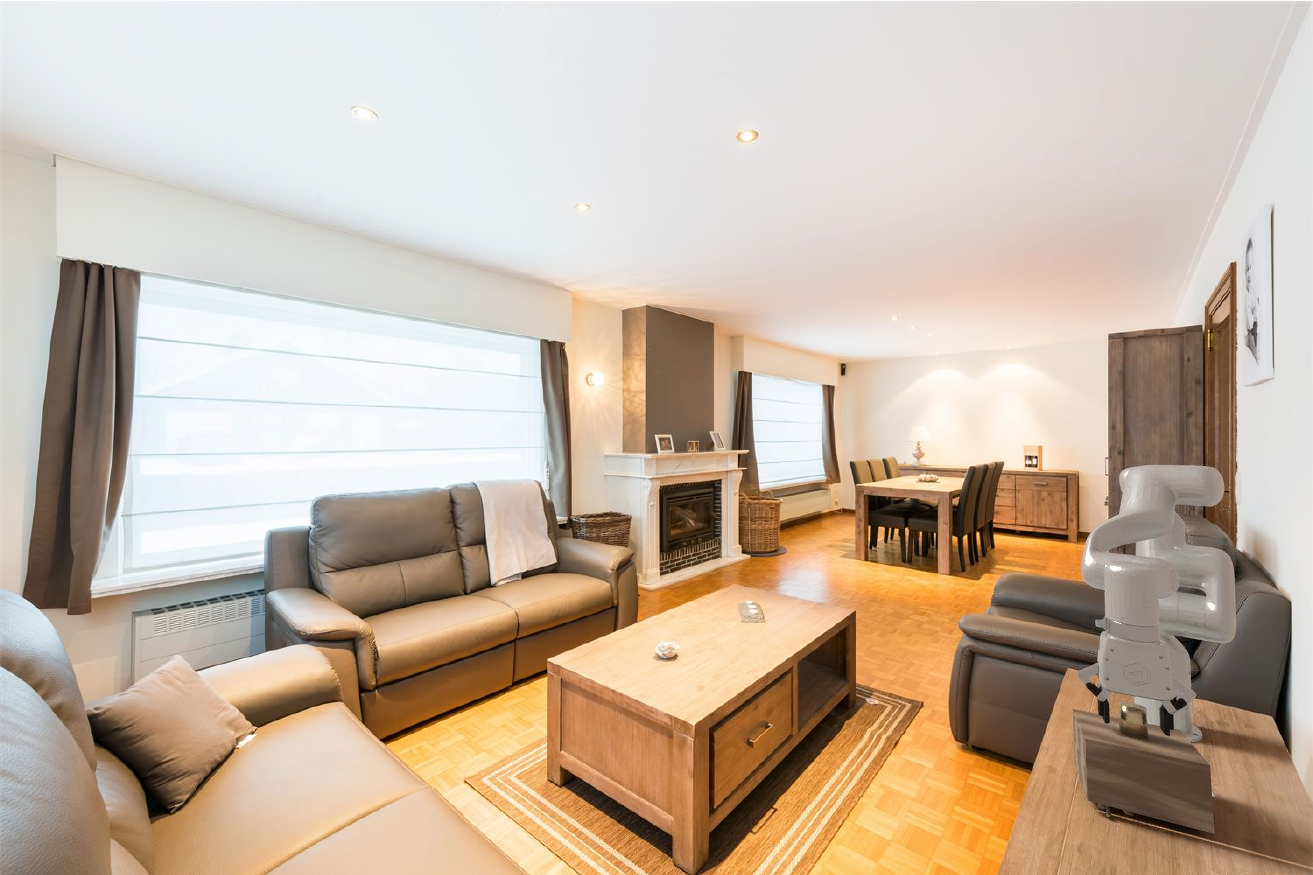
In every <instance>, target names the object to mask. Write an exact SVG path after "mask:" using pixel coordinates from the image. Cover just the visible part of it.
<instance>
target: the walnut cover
mask: <svg viewBox="0 0 1313 875" xmlns="http://www.w3.org/2000/svg"><path fill="white" fill-rule="evenodd" d="M1117 707H1118V717H1116V716H1111V715H1110V723H1109V724H1107V723H1105V722H1104V720H1103V718H1102V716H1099V715H1098V713H1097V712H1090V711H1085V710H1082V709H1081V710H1079V709H1074V708H1072V729H1073V730H1072V732H1073V756H1074V758H1073V759H1074V765H1075V768H1076V771H1077V773H1078V776H1079V780H1080V783H1081V785H1082V788H1083V792H1084V794H1085V797H1086V799H1087V801H1088V802H1091V803H1092V802H1093V803H1095V804H1098V803H1099V804H1103V805H1106V806H1109V808H1110V807H1111V808H1114V809H1118V810H1122V811H1123V810H1125V811H1129V812H1132V813H1133V814H1137V815H1141V816H1145V817H1149V818H1153V819H1157V820H1160V821H1164V822H1168V823H1172V824H1175V825H1178V826H1179V825H1180V826H1183V827H1187V828H1191V829H1194V830H1199V831H1202V832H1205V833H1210V834H1212V835H1213V834H1214V835H1215V822H1214V821H1215V820H1214V818H1215V817H1214V806H1213V803H1214V802H1213V797H1212V792H1213V789H1212V788H1213V787H1212V773H1211V764H1209V762H1208V761H1207V760H1206V759H1205V757H1203V755H1202V753H1200V752H1199V750H1198V749H1197V748H1196V747H1195V745H1193V742H1190V741H1189V740H1188V739H1187V738H1186V737H1185V735H1184V734H1183V733H1182V732H1181V731H1180V730H1179V729H1174V730H1170V736H1166V735H1165V734H1164V733H1163V731H1162V730H1161V728H1160V726H1158V725H1153V724H1148V722H1147V708H1145V707H1144V706H1141V705H1138V704H1135V702H1128V701H1118V702H1117Z"/></svg>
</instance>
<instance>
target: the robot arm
mask: <svg viewBox="0 0 1313 875" xmlns="http://www.w3.org/2000/svg"><path fill="white" fill-rule="evenodd" d="M1118 482H1119V486H1120V491H1121V494H1122V495H1121V501H1120V507H1119V512H1118V514H1117V515H1115V516H1113V517H1111V518H1109V519H1107V520H1105V521H1104V522H1102V523H1101V524H1100V525H1098V526H1097V527H1095V528H1094V529H1093V530H1092V531H1091V532H1090V533H1089V535H1088V536H1087V539H1086V540H1085V544H1084V549H1083V552H1082V553H1083V554H1082V556H1081V563H1080V573H1081V577H1082V580H1084V582H1085V584H1087V585H1088V586H1090V587H1091V588H1094V589H1097V590H1102V591H1104V614H1105V615H1104V616H1103V618H1102V619H1101V618H1100V619H1095V620H1094V621H1095V627H1098V628H1101V629H1103V630H1102V632H1101V633H1100V636H1099V637H1100V638H1099V642H1098V648H1097V649H1098V650H1097V651H1098V652H1097V661H1096V663H1094V664H1092V665H1089V666H1086V667H1083V668H1082V669H1079V670H1077V671H1076V675H1077V678H1078V679H1079V680H1080V682H1082V684H1084V686H1085V687H1086V689H1088V690H1089V692H1090V693H1092V694H1093V695H1094V696H1095V697H1096V700H1097V714H1098V715H1099V716H1102V718H1103V720H1104V722H1105V723H1107V724H1109V723H1110V716H1111V715H1110V714H1111V713H1110V711H1111V710H1110V702H1109V700H1108V699H1109V696H1110V695H1111V694H1112V693H1115V694H1118V695H1119V694H1120V695H1126V696H1129V697H1130V696H1132V697H1134V703H1135V704H1138V705H1141V706H1144V707H1145V708H1147V722H1148V724H1153V725H1158V726H1160V728H1161V730H1162V731H1163V733H1164V734H1165V735H1166V736H1170V730H1174V729H1179V730H1180V731H1181V732H1182V733H1183V734H1184V735H1185V737H1186V738H1187V739H1188V740H1189V741H1190V742H1191V743H1197V742H1200V741H1202V740H1203V731H1201V730H1200V728H1198V727H1197V726H1195V724H1193V713H1192V712H1193V709H1192V700H1194V699H1195V698H1196V697H1197V693H1195V691H1194V689H1192V680H1191V679H1192V678H1191V677H1192V675H1191V658H1190V654H1189V653H1188V651H1187V649H1186V647H1185V646H1184V645H1183V644H1182V643H1181V642H1180V641H1179V640H1178V639H1177V638H1176V637H1183V638H1188V639H1193V640H1194V639H1195V640H1201V641H1205V642H1206V641H1207V642H1211V643H1218V644H1227V643H1230V642H1232V641H1233V640H1234V638H1235V636H1236V634H1237V633H1236V632H1237V610H1236V609H1237V608H1236V604H1237V603H1236V602H1237V601H1236V577H1235V576H1236V575H1235V568H1234V564H1233V561H1232V558H1231V556H1230V555H1229V554H1228V553H1227V552H1226V551H1224V550H1223V549H1220V548H1217V547H1211V546H1201V545H1191V544H1188V543H1187V542H1186V523H1185V521H1184V520H1183V519H1182V517H1181V516H1180V515H1179V514H1178V513H1177V512H1176V510H1175V509H1176V506H1177V505H1178V506H1194V507H1197V506H1199V507H1200V506H1201V507H1214V506H1216V505H1217V504H1219V503H1220V502H1221V500H1222V499H1223V497H1224V493H1225V482H1224V478H1223V476H1222V474H1221V473H1220V471H1219V470H1218V469H1217V468H1215V467H1211V466H1206V465H1205V466H1204V465H1193V464H1189V465H1183V464H1182V465H1181V464H1180V465H1177V464H1146V465H1138V466H1132V467H1131V466H1130V467H1127V468H1125V469H1123V470H1121V472H1120V473H1119V475H1118ZM1134 543H1135V555H1134V554H1125V553H1120V552H1119V553H1115V552H1108V551H1110V550H1111V549H1115V548H1116V547H1119V546H1120V547H1121V546H1124V545H1129V544H1134ZM1180 587H1183V588H1189V589H1198V590H1201V591H1202V592H1203V593H1205V595H1200V594H1192V593H1187V592H1186V593H1185V592H1180V591H1178V590H1179V588H1180ZM1095 675H1096V676H1097V678H1098V680H1099V683H1100V684H1099V685H1098V686H1097V685H1096V684H1094V682H1093V681H1091V679H1090V677H1092V676H1095Z"/></svg>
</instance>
